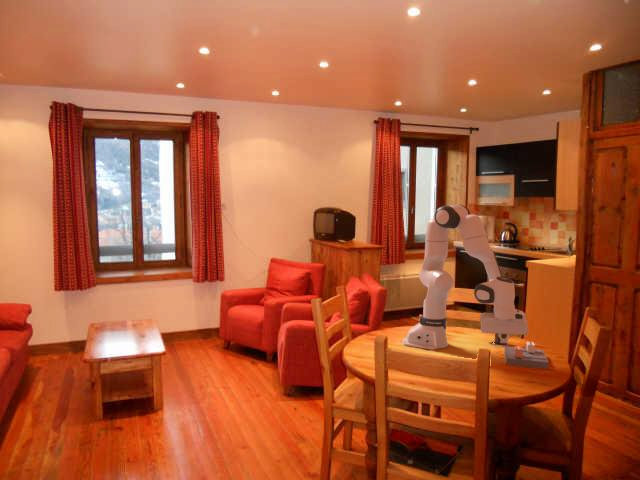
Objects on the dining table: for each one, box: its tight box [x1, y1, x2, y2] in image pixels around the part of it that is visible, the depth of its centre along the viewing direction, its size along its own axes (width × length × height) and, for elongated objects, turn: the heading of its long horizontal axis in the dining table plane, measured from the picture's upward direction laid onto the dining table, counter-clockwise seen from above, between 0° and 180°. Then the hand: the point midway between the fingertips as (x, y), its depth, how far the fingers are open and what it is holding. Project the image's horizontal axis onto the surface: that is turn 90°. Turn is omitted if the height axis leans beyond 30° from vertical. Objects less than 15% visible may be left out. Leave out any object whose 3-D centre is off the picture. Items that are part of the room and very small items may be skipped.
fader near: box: [514, 345, 523, 358], centre depth 221 cm, size 3×5×4 cm, turn 163°
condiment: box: [488, 333, 511, 348], centre depth 250 cm, size 7×8×12 cm
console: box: [503, 345, 549, 370], centre depth 225 cm, size 17×18×3 cm
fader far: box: [525, 341, 536, 353], centre depth 228 cm, size 3×5×4 cm, turn 163°
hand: (504, 343), depth 223 cm, fingers closed
